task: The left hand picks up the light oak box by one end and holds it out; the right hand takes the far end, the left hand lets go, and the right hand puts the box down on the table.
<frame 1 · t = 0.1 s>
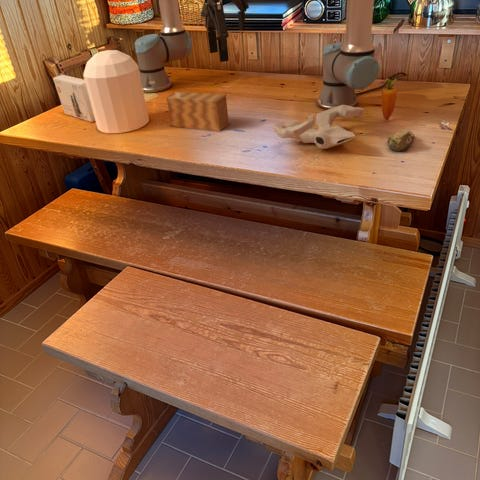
left hand: (227, 33, 179), 28 cm above the table, tool pointing down, fingers open, 13 cm apart
right hand: (218, 56, 149), 28 cm above the table, tool pointing down, fingers open, 13 cm apart
skincare box: (82, 117, 198), on the table
carrot: (386, 121, 166), on the table
rock: (401, 146, 148), on the table
animal horns: (326, 145, 153), on the table
container: (123, 123, 186), on the table
box: (199, 125, 178), on the table
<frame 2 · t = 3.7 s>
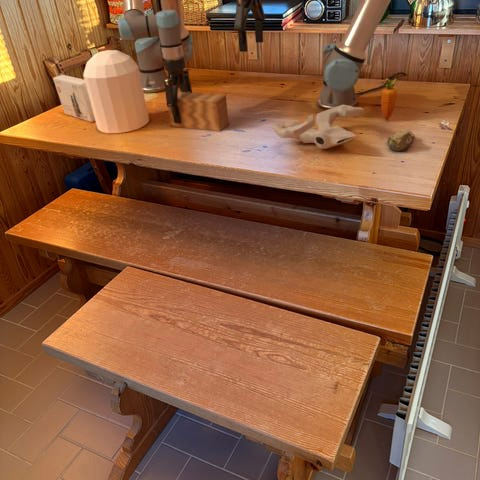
left hand: (183, 119, 180), 2 cm above the table, tool pointing down, fingers closed on box, 7 cm apart
right hand: (251, 46, 163), 26 cm above the table, tool pointing down, fingers open, 13 cm apart
box: (199, 125, 178), on the table, touching left hand
everything else where it was.
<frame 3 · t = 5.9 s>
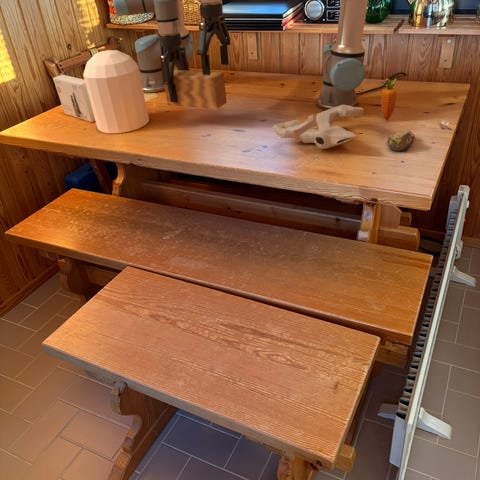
left hand: (179, 98, 175), 10 cm above the table, tool pointing down, fingers closed on box, 7 cm apart
right hand: (216, 69, 164), 21 cm above the table, tool pointing down, fingers open, 13 cm apart
box: (196, 104, 174), point 8 cm above the table, touching left hand
everything else where it was.
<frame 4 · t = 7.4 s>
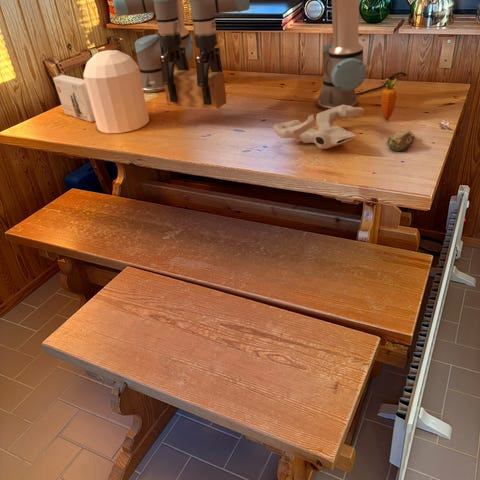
left hand: (179, 98, 175), 10 cm above the table, tool pointing down, fingers closed on box, 7 cm apart
right hand: (213, 100, 170), 10 cm above the table, tool pointing down, fingers closed on box, 7 cm apart
box: (196, 104, 174), point 8 cm above the table, touching left hand, right hand
everything else where it was.
when the left hand's fingers open (10 cm above the table, at t = 8.4 s): box stays where it is, held by the right hand.
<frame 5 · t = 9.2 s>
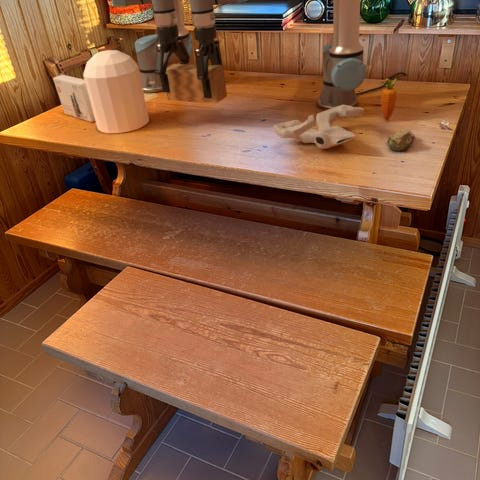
left hand: (176, 86, 174), 14 cm above the table, tool pointing down, fingers open, 13 cm apart
right hand: (213, 93, 168), 12 cm above the table, tool pointing down, fingers closed on box, 7 cm apart
box: (197, 98, 172), point 10 cm above the table, touching right hand
everything else where it was.
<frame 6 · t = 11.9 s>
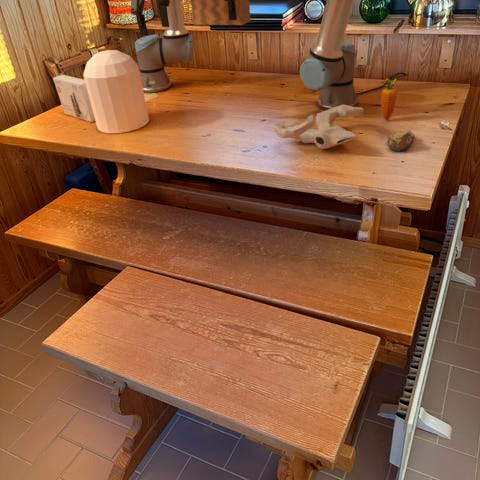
left hand: (155, 30, 164), 34 cm above the table, tool pointing down, fingers open, 13 cm apart
right hand: (238, 17, 176), 33 cm above the table, tool pointing down, fingers closed on box, 7 cm apart
box: (222, 22, 181), point 31 cm above the table, touching right hand
everything else where it was.
when the right hand's fingers open (3 cm above the table, at t = 16.4 s): box drops 1 cm, on the table.
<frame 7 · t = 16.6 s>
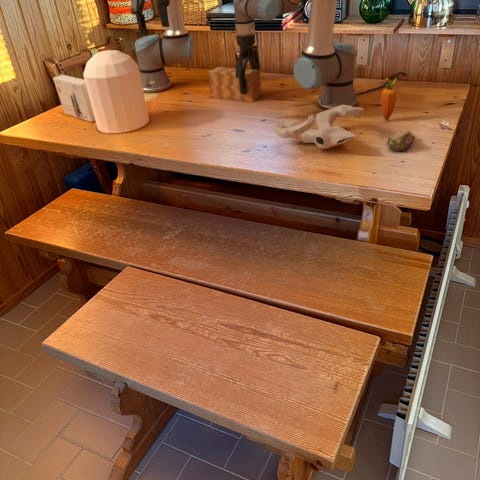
left hand: (155, 30, 164), 34 cm above the table, tool pointing down, fingers open, 13 cm apart
right hand: (249, 90, 198), 3 cm above the table, tool pointing down, fingers open, 9 cm apart
box: (235, 96, 203), on the table
everything else where it was.
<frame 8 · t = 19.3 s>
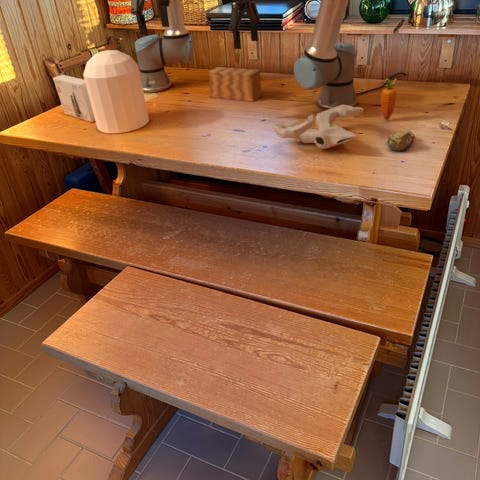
left hand: (155, 30, 164), 34 cm above the table, tool pointing down, fingers open, 13 cm apart
right hand: (246, 44, 187), 22 cm above the table, tool pointing down, fingers open, 13 cm apart
nothing on the table moved.
at the end: box inside the target area (7.2 cm from its centre), on the table; the left hand is holding nothing; the right hand is holding nothing; box at rest at the end (0.0 cm/s) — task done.
